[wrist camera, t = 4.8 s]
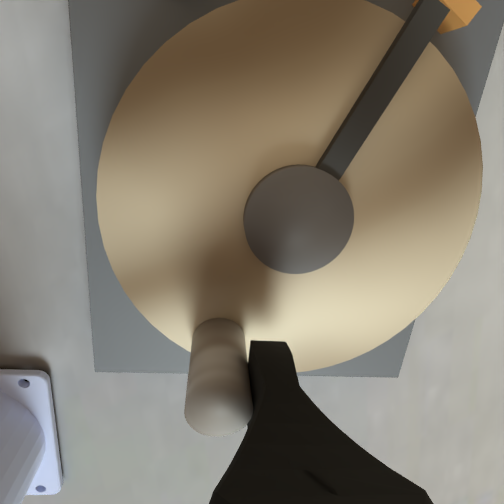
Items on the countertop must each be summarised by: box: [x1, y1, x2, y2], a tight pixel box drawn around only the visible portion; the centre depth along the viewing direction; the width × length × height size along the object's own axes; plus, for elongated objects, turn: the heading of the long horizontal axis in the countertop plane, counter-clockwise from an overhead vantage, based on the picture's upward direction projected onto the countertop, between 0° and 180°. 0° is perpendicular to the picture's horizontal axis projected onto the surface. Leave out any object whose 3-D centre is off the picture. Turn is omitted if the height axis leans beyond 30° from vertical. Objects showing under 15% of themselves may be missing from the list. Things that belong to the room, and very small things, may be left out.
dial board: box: [68, 0, 504, 378], centre depth 14 cm, size 14×16×3 cm
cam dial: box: [96, 0, 483, 437], centre depth 11 cm, size 13×13×5 cm
